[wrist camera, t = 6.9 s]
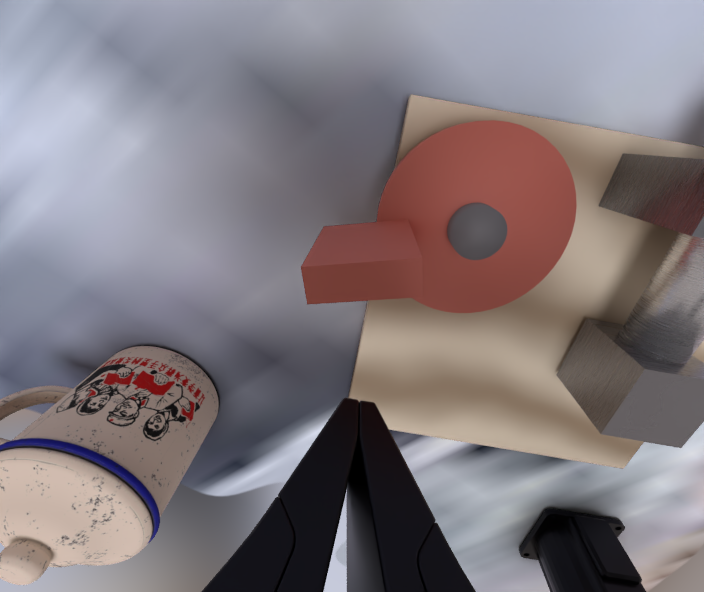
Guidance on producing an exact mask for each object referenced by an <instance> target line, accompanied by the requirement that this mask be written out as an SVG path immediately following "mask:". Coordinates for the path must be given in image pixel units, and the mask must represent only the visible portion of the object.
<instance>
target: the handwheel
mask: <svg viewBox="0 0 704 592" xmlns="http://www.w3.org/2000/svg"><path fill="white" fill-rule="evenodd" d="M576 208H577V203H576V190H575V185H574V180H573V177H572V174H571V172H570V169H569V167H568V165H567V163H566V161H565V160H564V158H563V156H562V155H561V154H560V153H559V151H558V150H557V149H556V147H554V146H553V145H552V144H551V143H550V142H549V141H548V140H547V139H546V138H544V137H543V136H541V135H540V134H538V133H537V132H535V131H533V130H531V129H529V128H526V127H524V126H522V125H518V124H514V123H511V122H505V121H496V120H489V121H474V122H468V123H463V124H458V125H454V126H451V127H448V128H445V129H443V130H441V131H439V132H437V133H435V134H433V135H431V136H429V137H428V138H426V139H425V140H423V141H422V142H420V143H419V144H418V145H416V146H415V147H414V148H413V149H412V150H410V151H409V152H408V153H407V155H406V156H405V157H404V158H403V159H402V160H401V161H400V162H399V164H398V165H397V166H396V168H395V169H394V171H393V172H392V174H391V176H390V177H389V179H388V181H387V183H386V185H385V188H384V190H383V193H382V195H381V199H380V203H379V207H378V214H377V222H370V223H359V224H347V225H335V226H324V227H323V229H322V231H321V232H320V234H319V236H318V238H317V239H316V241H315V243H314V245H313V246H312V248H311V250H310V252H309V253H308V255H307V257H306V259H305V261H304V262H303V264H302V266H301V271H302V276H303V282H304V288H305V293H306V299H307V304H320V303H336V302H353V301H369V300H385V299H401V298H413V299H414V300H415V301H417V302H419V303H421V304H423V305H425V306H428V307H430V308H433V309H436V310H440V311H444V312H451V313H475V312H482V311H486V310H491V309H494V308H497V307H500V306H503V305H505V304H508V303H510V302H512V301H514V300H516V299H518V298H519V297H521V296H523V295H524V294H526V293H527V292H529V291H530V290H531V289H533V288H534V287H535V286H536V285H537V284H539V283H540V282H541V281H542V280H543V279H544V278H545V277H546V276H547V275H548V274H549V272H550V271H551V270H552V269H553V268H554V266H555V265H556V264H557V262H558V261H559V259H560V258H561V256H562V254H563V252H564V250H565V249H566V247H567V245H568V242H569V240H570V237H571V234H572V231H573V227H574V223H575V217H576Z"/></svg>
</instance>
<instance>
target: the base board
mask: <svg viewBox="0 0 704 592" xmlns="http://www.w3.org/2000/svg"><path fill="white" fill-rule="evenodd" d="M489 120H496V121H505V122H511V123H514V124H518V125H522V126H524V127H526V128H529V129H531V130H533V131H535V132H537V133H538V134H540V135H541V136H543V137H544V138H546V139H547V140H548V141H549V142H550V143H551V144H552V145H553V146H554V147H556V149H557V150H558V151H559V153H560V154H561V155H562V156H563V158H564V160H565V161H566V163H567V165H568V167H569V169H570V172H571V174H572V177H573V180H574V185H575V190H576V203H577V208H576V217H575V223H574V227H573V231H572V234H571V237H570V240H569V242H568V245H567V247H566V249H565V250H564V252H563V254H562V256H561V258H560V259H559V261H558V262H557V264H556V265H555V266H554V268H553V269H552V270H551V271H550V272H549V274H548V275H547V276H546V277H545V278H544V279H543V280H542V281H541V282H540V283H539V284H537V285H536V286H535V287H534V288H533V289H531V290H530V291H529V292H527V293H526V294H524V295H523V296H521V297H519V298H518V299H516V300H514V301H512V302H510V303H508V304H505V305H503V306H500V307H497V308H494V309H491V310H486V311H482V312H475V313H451V312H444V311H440V310H436V309H433V308H430V307H428V306H425V305H423V304H421V303H419V302H417V301H415V300H414V299H413V298H401V299H385V300H369V301H368V302H367V307H366V312H365V317H364V322H363V327H362V332H361V337H360V341H359V346H358V351H357V356H356V361H355V366H354V371H353V376H352V381H351V386H350V391H349V396H348V398H352V399H357V400H358V401H359V402H360V401H361V400H364V401H370V402H374V403H375V404H376V406H377V408H378V410H379V411H380V413H381V415H382V417H383V419H384V421H385V423H386V425H387V427H388V429H390V430H396V431H402V432H408V433H414V434H420V435H426V436H431V437H437V438H443V439H449V440H455V441H461V442H467V443H473V444H479V445H485V446H491V447H497V448H503V449H509V450H515V451H521V452H527V453H533V454H539V455H545V456H551V457H556V458H562V459H568V460H574V461H580V462H586V463H592V464H598V465H604V466H610V467H616V468H622V469H623V468H624V467H625V466H626V465H627V463H628V462H629V461H630V459H631V458H632V457H633V455H634V454H635V453H636V452H637V450H638V449H639V448H640V446H641V445H642V444H643V441H637V440H631V439H625V438H620V437H614V436H608V435H602V434H600V433H599V431H598V430H597V429H596V427H595V426H594V425H593V423H592V422H591V421H590V419H589V418H588V417H587V415H586V414H585V413H584V411H583V410H582V409H581V407H580V406H579V405H578V403H577V402H576V401H575V399H574V398H573V397H572V395H571V394H570V393H569V391H568V390H567V389H566V387H565V386H564V385H563V383H562V382H561V381H560V379H559V378H558V377H557V375H556V374H557V373H558V371H559V369H560V367H561V365H562V363H563V361H564V360H565V358H566V356H567V354H568V352H569V350H570V348H571V346H572V345H573V343H574V341H575V339H576V337H577V335H578V333H579V332H580V330H581V328H582V326H583V324H584V322H585V320H586V319H587V318H588V319H594V320H600V321H605V322H611V323H617V324H623V325H624V323H625V321H626V320H627V318H628V316H629V315H630V313H631V311H632V310H633V308H634V306H635V305H636V303H637V301H638V300H639V298H640V296H641V295H642V293H643V291H644V290H645V288H646V286H647V285H648V283H649V281H650V280H651V278H652V276H653V275H654V273H655V271H656V270H657V268H658V266H659V265H660V263H661V261H662V260H663V258H664V256H665V255H666V253H667V251H668V250H669V248H670V246H671V245H672V243H673V241H674V240H675V238H676V236H677V235H678V233H679V232H677V231H674V230H671V229H668V228H665V227H661V226H658V225H655V224H652V223H649V222H646V221H643V220H640V219H637V218H633V217H630V216H627V215H624V214H621V213H618V212H615V211H612V210H609V209H605V208H602V207H599V206H598V205H599V203H600V201H601V198H602V196H603V194H604V192H605V190H606V188H607V186H608V184H609V182H610V179H611V177H612V175H613V173H614V171H615V169H616V167H617V165H618V163H619V160H620V158H621V156H622V154H623V153H626V154H640V155H653V156H666V157H680V158H693V159H704V147H702V146H696V145H691V144H685V143H680V142H674V141H668V140H663V139H657V138H652V137H646V136H640V135H635V134H629V133H624V132H618V131H612V130H607V129H601V128H596V127H590V126H584V125H579V124H573V123H568V122H562V121H556V120H551V119H545V118H540V117H534V116H528V115H523V114H517V113H512V112H506V111H500V110H495V109H489V108H484V107H478V106H472V105H467V104H461V103H456V102H450V101H444V100H439V99H433V98H428V97H422V96H416V95H410V96H409V98H408V103H407V108H406V113H405V118H404V123H403V128H402V133H401V138H400V143H399V148H398V153H397V158H396V163H395V168H396V166H397V165H398V164H399V162H400V161H401V160H402V159H403V158H404V157H405V156H406V155H407V153H408V152H409V151H410V150H412V149H413V148H414V147H415V146H416V145H418V144H419V143H420V142H422V141H423V140H425V139H426V138H428V137H429V136H431V135H433V134H435V133H437V132H439V131H441V130H443V129H445V128H448V127H451V126H454V125H458V124H463V123H468V122H474V121H489ZM395 168H394V169H395ZM693 356H695V357H696V358H697V359H699V360H700V361H702V362H703V363H704V340H703V342H702V343H701V344H700V346H699V347H698V348H697V350H696V351H695V352H694V354H693Z"/></svg>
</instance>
